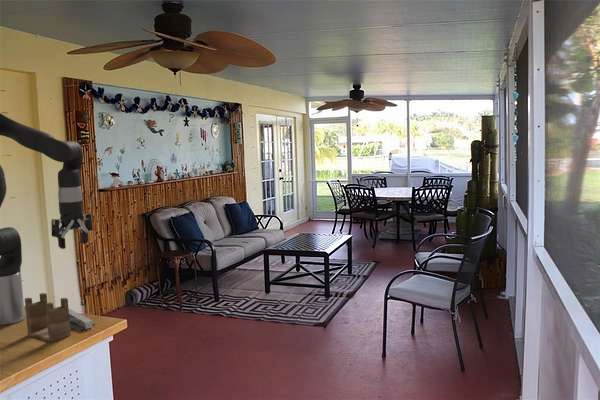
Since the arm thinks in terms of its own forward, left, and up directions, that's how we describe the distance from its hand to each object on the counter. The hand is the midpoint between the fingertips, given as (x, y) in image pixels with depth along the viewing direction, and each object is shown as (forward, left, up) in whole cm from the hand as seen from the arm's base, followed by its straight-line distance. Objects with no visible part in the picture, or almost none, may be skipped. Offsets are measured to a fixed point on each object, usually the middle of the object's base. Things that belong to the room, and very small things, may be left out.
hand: (73, 245), depth 174 cm
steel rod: (+3, -3, -26) cm, 26 cm away
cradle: (+2, -13, -27) cm, 30 cm away
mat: (+3, -3, -27) cm, 27 cm away
